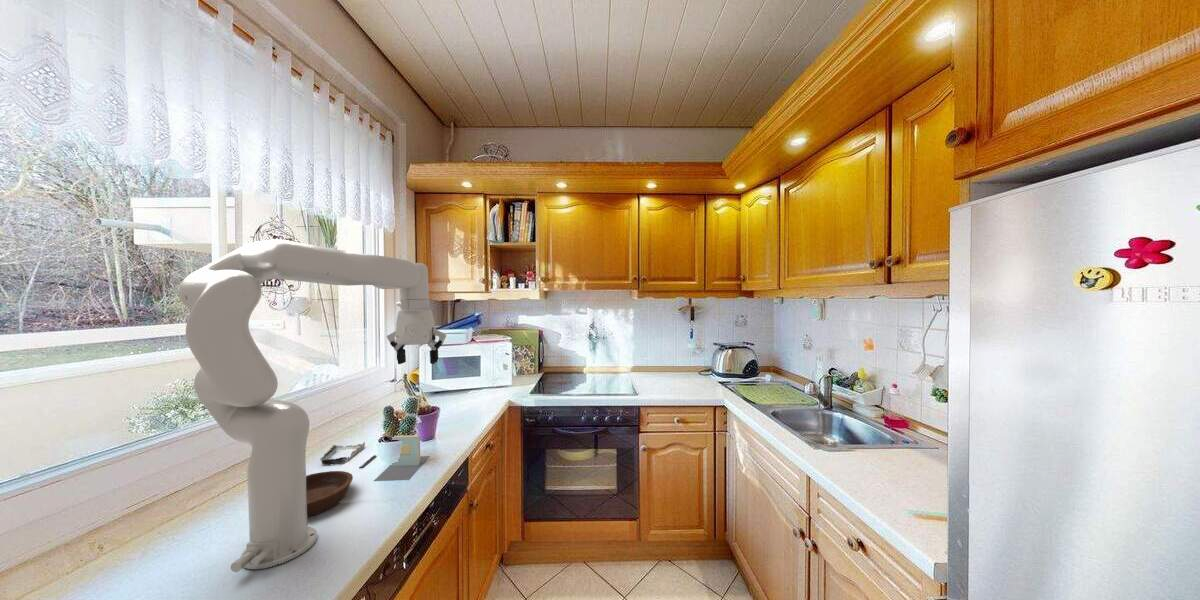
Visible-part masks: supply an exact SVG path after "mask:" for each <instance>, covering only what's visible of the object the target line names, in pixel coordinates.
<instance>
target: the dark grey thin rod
mask: <svg viewBox="0 0 1200 600" xmlns="http://www.w3.org/2000/svg"><path fill="white" fill-rule="evenodd" d="M377 457H378V456H377V455H376V454H374V455H373V456H371V457H370V458H369V459H368V460H366V461H365V462H364V463H362V464H361V465H360V466H359V467H358V469H359V470H361V469H364V468H366V466H368V465H369V464H370V463H372V462H373V460H375V459H376V458H377Z"/></svg>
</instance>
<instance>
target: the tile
mask: <svg viewBox="0 0 1200 600" xmlns="http://www.w3.org/2000/svg"><path fill="white" fill-rule="evenodd" d="M393 436H394V437H393ZM393 436H392V437H391V441H392V440H400V441H402V442H403V445H402V448H401V453H400V458H399V459H398V462H395V463H391V464H392V466H408V465H420V456H421V435H420V434H415V435H413V434H412V435H410V434H408V435H393Z"/></svg>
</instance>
